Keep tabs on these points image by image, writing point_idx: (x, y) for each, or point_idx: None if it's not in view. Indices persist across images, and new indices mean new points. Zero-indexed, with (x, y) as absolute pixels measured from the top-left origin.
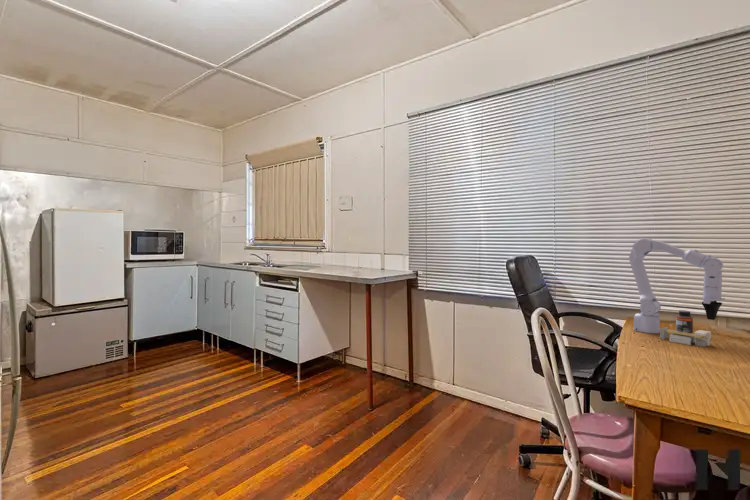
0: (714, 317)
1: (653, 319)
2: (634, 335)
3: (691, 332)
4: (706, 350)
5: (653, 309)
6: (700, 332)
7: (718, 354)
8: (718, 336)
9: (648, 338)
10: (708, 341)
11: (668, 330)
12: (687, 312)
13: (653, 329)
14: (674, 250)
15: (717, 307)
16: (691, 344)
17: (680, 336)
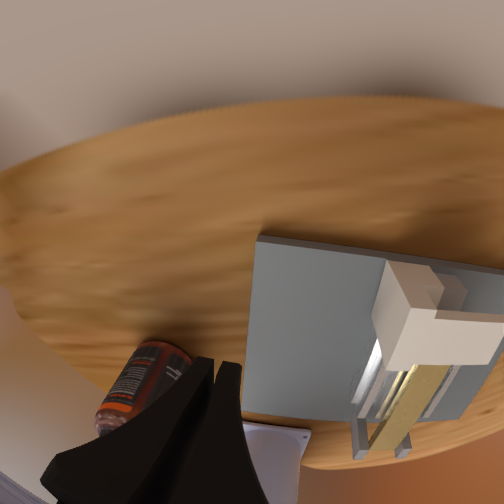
0: (238, 380)
1: (290, 499)
2: (332, 461)
3: (162, 358)
4: (446, 259)
5: None
6: (475, 344)
7: (492, 207)
8: (45, 250)
9: None
10: (433, 278)
11: (402, 437)
12: None
13: (294, 459)
14: None
15: (231, 488)
16: None
17: (448, 385)
